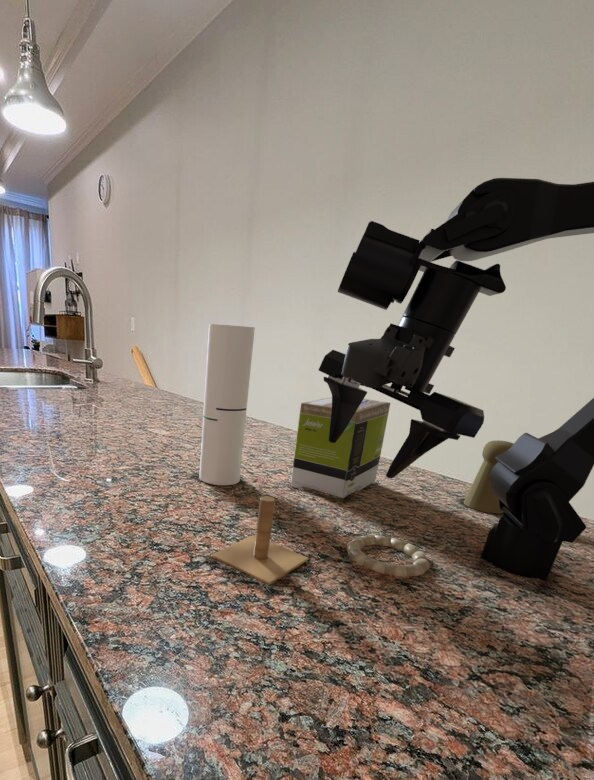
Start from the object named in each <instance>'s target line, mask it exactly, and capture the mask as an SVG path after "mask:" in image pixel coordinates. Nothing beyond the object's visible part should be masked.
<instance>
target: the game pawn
mask: <svg viewBox="0 0 594 780" xmlns="http://www.w3.org/2000/svg"><path fill="white" fill-rule="evenodd" d="M514 443H515V442H512V441H506V440H490V441H488V442H486V443H485V445H484V446H483V449H482V451H481V452H482V458H483V461H482V463H481V465H480V467H479V468H478V472H477V473H476V475H475V478H474V479H473V482H472V484H471V486H470V488H469V490H468V493H467V494H466V497H465V499H464V501H463V504H464V505H465V506H467V507H468V508H470V509H472V510H476V511H479V512H483V513H489V514H504V513H505V512H504V511H503V510H501V509H500V508H499V502H498V497H497V496H496V495H495V494H494V493H493V492H492V490H491V488H490V485H489V479H490V476H489V474H490V472H491V470H492V468H493V467H494V466H495V465H496V464H497V463H498V461H497V460H496V459H495V457H496V456H499V455H501V454H503V453H504V452H506V451H507V450H509V449H510V448H511V447H512V445H513V444H514Z"/></svg>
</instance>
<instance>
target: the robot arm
mask: <svg viewBox="0 0 594 780" xmlns="http://www.w3.org/2000/svg"><path fill="white" fill-rule="evenodd" d="M590 234H594V181H588V182H582V183H574V184H573V183H572V184H571V183H570V184H569V183H568V184H567V183H556V182H551V181H548V180H543V179H540V178H519V177H494V178H492V179H489V180H486V181H483V182H482V183H479V184H478V185H476V186H475V187H474V188H473V189H472V190H471V191H470V192H469V193H468V194H467V195H466V196H465V197H464V198H463V199H462V201H461V202H460V203H458V205H457V206H456V207H455V208H454V209H453V210H452V211H451V212H450V214H449V216H448V218H447V220H446V221H444V222H443V223H442V224H440V225H439V226H437V227H436V228H435V229H434V228H430V230H429V231H428V232H427V233H426V234H425V235H424V236H423V238H422V239H420V240H419V239H417V238H414V237H412V236H409V235H405V234H403V233H401V232H397V231H394V230H391V229H389V228H388V227H387V226H385V225H383V224H382V223H379V222H376V221H374V220H370V221H368V223H367V226H366V227H365V231H364V233H363V235H362V237H361V239H360V241H359V243H358V245H357V247H356V251H353V252H352V255H351V257H350V259H349V261H348V264H347V267H346V268H345V271H344V273H343V276H342V278H341V281H340V283H339V286H338V289H337V293H338V294H342V295H345V296H347V297H350V298H353V299H355V300H358V301H361V302H363V303H365V304H368V305H371V306H374V307H376V308H379V309H382V310H384V311H387V310H388V309H389V307H390V306H391V304H394V302H396V303H397V304H401V305H402V303H403V302H404V300H405V299H406V297H407V296H408V294H409V291H410V290H411V288H412V286H413V284H414V282H415V280H416V277H417V276H418V273H419V271H420V272H423V273H422V275H421V277H420V279H419V281H418V283H417V285H416V288H415V290H414V291H413V294H412V295H411V297H410V300H409V301H408V304H407V306H406V307H405V310H404V312H403V314H402V316H401V318H400V320H399V322H398V324H394V323H390V324H389V326H387V327H386V329H385V330H384V332H383V334H382V336H381V337H380V338H368V339H362V340H358V341H352V342H348V343H347V346H346V351H345V352H346V353H343V352H341V351H338V350H336V349H332V350H330V351H329V352H328V353H326V354H325V355H324V356H323V358H322V360H321V361H320V364H319V367H318V372H321V373H322V374H325V375H327V376H323V382H324V383H326V384H327V386H328V389H329V391H330V393H331V397H332V412H331V421H330V431H329V442H331V443H336V441H337V440H338V439H339V437H340V436H341V435H342V433H343V432H344V430H345V429H346V427H347V425H348V424H349V422H350V420H351V419H352V417H353V416H354V414H355V412H356V411H357V409H358V407H359V406H360V404H361V402H362V401H363V399H365V397H366V396H367V394H368V391H367V390H364V389H363V388H360V387H361V386H362V387H366V388H369V389H371V390H374V391H377V392H379V393H381V394H382V395H386V396H388V397H389V398H392V399H394V400H396V401H398V402H400V403H402V404H405V405H407V406H409V407H410V408H414V409H416V410H418V411H419V412H420V417H421V420H419V419H413V418H411V420H410V424H409V433H408V435H407V437H406V439H405V440H404V442H403V443H402V445H401V447H400V448H399V450H398V452H397V454H396V455H395V457H394V459H393V460H392V461H391V464H390V466H389V468H388V470H387V472H386V474H385V477H386V478H388V479H393V478H395V477H396V476H398V475H400V473H402V472H403V471H404V470H406V469H407V468H408V467H409V466H410V465H412V464H413V463H414V462H416V461H418V459H420V458H422V456H424V455H425V454H427V453H428V452H430V451H431V450H433V449H434V448H436V447H437V446H439V445H441V444H442V443H444V442H445V441H447V440H449V439H450V440H455V441H458V440H460V438H461V436H464V437H468V438H473V439H475V437H476V436H477V434H478V433H479V431H480V430H481V428H482V426H483V425H484V422H485V412H484V410H483V409H481V408H479V407H476V406H474V405H472V404H469V403H467V402H464V401H462V400H459V399H457V398H455V397H452V396H449V395H446V394H443V393H439V392H436V391H433V392H432V390H433V388H434V387H435V385H434V384H432V383H430V382H431V380H432V378H433V377H434V375H435V373H436V371H437V369H438V367H439V366H440V363H441V362H442V360H443V358H444V357H446V358H451V356H452V355H453V353H454V351H455V349H456V347H454V346H451V344H452V342H453V340H454V338H455V337H456V335H457V333H458V331H459V329H460V327H461V326H462V324H463V322H464V320H465V319H466V317H467V315H468V313H469V311H470V309H471V307H472V305H473V304H474V302H475V300H476V299H477V297H478V295H479V293H481V294H482V295H486V296H488V297H491V296H495V295H500V294H503V293H504V292H505V291H506V289H507V286H506V283H505V282H504V279H503V277H502V274H501V264H500V263H495V264H493V265H491V266H488V267H487V268H485V269H483V268H480V267H477V266H474V265H472V264H469V263H467V262H473V261H478V260H480V259H485V258H488V257H491V256H495V255H499V254H502V253H505V252H508V251H512V250H515V249H518V248H521V247H525V246H528V245H531V244H535V243H537V242H541V241H544V240H548V239H554V238H555V239H556V238H564V237H572V236H573V237H574V236H581V235H590ZM450 257H452V258H453V259H454V260H455V261H454V262H452V264H451V265H450V266H449V267H448V266H443V265H440V264H437V263H434V262H436V261H439V260H442V259H443V260H444V259H447V258H450ZM388 384H390V385H388ZM403 387H404V390H402V389H403ZM405 390H406V391H405ZM407 391H408V392H407ZM431 392H432V393H431ZM589 400H590V401H588V402H587V403H586V404H585V405H584V406H582V407H581V408H580V409H579V410H578V411H577V412H575V414H573V415H572V416H571V417H570V418H569V419H568V420H566V421H565V422H564V423H563V424H562V425H561V426H560V427H558V428H556V429H555V430H554V431H552V432H550V433H547V434H545V435H543V436H541V437H536V436H535V435H532V434H530V433H529V432H524V433H522V434H521V435H520V436H519V437H517V439H516V441H514V442H513V443H514V444H513V445H512V447H511V448H510V449H509V450H507V451H506V452H504V453H503V454H501V455H499V456H496V457H495V459H496V460H497V461H498V463H497V464H496V465H495V466H494V467H493V468H492V470H491V472H490V474H489V476H490V479H489V485H490V488H491V490H492V492H493V493H494V494H495V495H496V496H497V497H498V502H499V508H500V509H501V510H503V511H504V512H503V513H502V515H501V516H500V518H499V520H498V522H495V523H494V524H492V526H491V527H490V528H489V531H488V534H487V536H486V539H485V543H484V546H483V549H482V552H481V554H480V559H481V560H484V561H485V562H487V563H490V564H492V565H494V566H495V567H496V568H498V569H500V570H501V571H503V572H506V573H509V574H511V575H514V576H517V577H521V578H527V579H538V580H541V581H548V578H549V576H550V573H551V571H552V569H553V566H554V564H555V562H556V559H557V556H558V554H559V552H560V549H561V547H562V544H563V542H564V543H573V542H575V541H576V540H577V539H578V537H579V536H581V535H582V533H583V532H584V531H585V530H586V528H587V525H586V524H585V522H584V521H583V519H582V518H581V517H580V515H579V514H578V512H577V511H576V509H575V508H574V507H573V505H572V504H571V503H570V501H571V500H572V499H574V497H575V496H576V495H577V494H578V493H579V492H580V491H581V490H582V489H583V488H584V486H585V485H586V482H587V480H588V478H589V476H590V474H591V472H592V470H593V468H594V397H593V398H591V399H589Z"/></svg>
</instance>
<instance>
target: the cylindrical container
mask: <svg viewBox="0 0 594 780" xmlns="http://www.w3.org/2000/svg"><path fill="white" fill-rule="evenodd" d="M255 330H256V328H255V326H245V325H244V326H243V325H229V324H217V323H216V324H215V323H209V324H208V331H207V333H208V334H207V348H206V349H207V350H206V365H205V366H206V367H205V381H204V395H203V399H204V400H203V411H202V412H203V413H202V427H201V444H200V445H201V446H200V457H199V458H200V460H199V475H198V477H199V480H200V481H202V482H204V483H206V484H209V485H214V486H232V485H236V484H238V483H239V482H240V479H241V470H242V458H243V448H244V439H245V438H244V437H245V429H246V420H247V410H248V409H247V408H248V399H249V389H250V381H251V370H252V359H253V348H254V340H255Z"/></svg>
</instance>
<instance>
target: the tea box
mask: <svg viewBox="0 0 594 780" xmlns="http://www.w3.org/2000/svg"><path fill="white" fill-rule="evenodd" d="M390 407H391V402H387V401H381V400H376V399H375V400H374V399H369V398H364V399H363V401H362V402H361V404H360V406H359V407H358V409H357V411H356V412H355V414H354V416H353V417H352V419H351V420H350V422H349V424H348V425H347V427H346V429H345V430H344V432H343V433H342V435H341V436H340V437H339V439H338V440H337V441H336V443H331V442H329V431H330V421H331V412H332V396H330V397H325V398H324V397H323V398H319V399H314V400H310V401H304V402H301V403H300V408H299V413H298V415H299V416H298V422H297V423H298V424H297V431H296V438H295V449H294V454H293V463H292V471H291V480H290V486H291V487H292V488H295V489H297V490H298V489H300V488H303V487H304V488H307V489H311V490H314V491H318V492H322V493H325V494H329V495H332V496H335V497H339V498H341V499H343V498H344V499H345V498H346V497H347V496H349V495H351V494H353V493H355V492H359V491H361V490H363V489H364V488H366V487H368V486H369V485H371V484H373V483H375V482H376V480H377V475H378V469H379V464H380V458H381V455H382V449H383V444H384V439H385V434H386V428H387V422H388V417H389V412H390Z"/></svg>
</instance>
